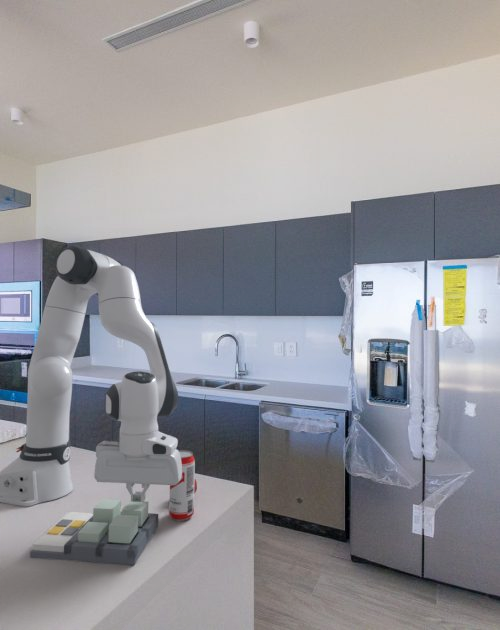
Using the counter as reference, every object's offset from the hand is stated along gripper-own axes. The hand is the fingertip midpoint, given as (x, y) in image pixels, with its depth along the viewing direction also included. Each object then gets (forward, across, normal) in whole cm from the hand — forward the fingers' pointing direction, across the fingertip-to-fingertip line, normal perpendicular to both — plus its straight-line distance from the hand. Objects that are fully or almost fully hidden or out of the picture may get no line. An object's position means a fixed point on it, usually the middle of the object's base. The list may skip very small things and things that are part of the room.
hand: (138, 500), depth 92 cm
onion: (+8, +7, +18) cm, 21 cm away
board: (+7, -8, -4) cm, 11 cm away
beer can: (+8, +8, +9) cm, 15 cm away
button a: (+6, -7, -7) cm, 12 cm away
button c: (+4, 0, -7) cm, 9 cm away
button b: (+4, -7, 0) cm, 8 cm away
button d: (+4, 0, -1) cm, 4 cm away
